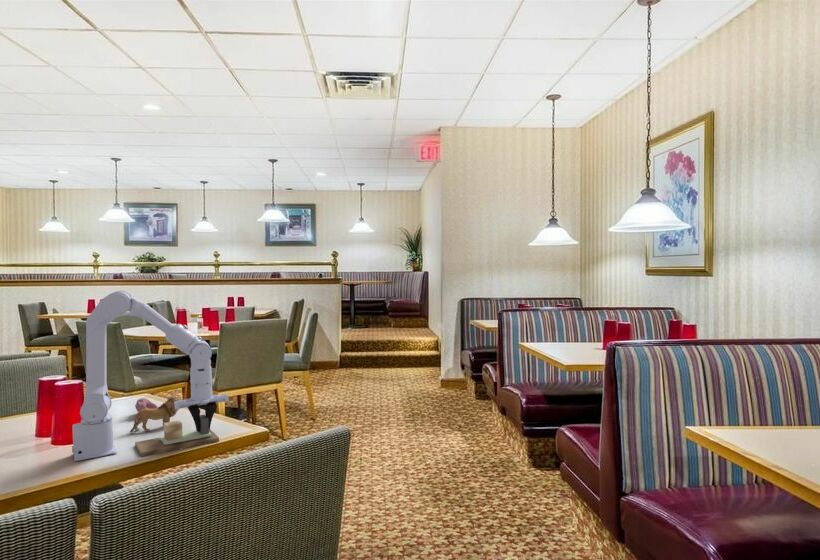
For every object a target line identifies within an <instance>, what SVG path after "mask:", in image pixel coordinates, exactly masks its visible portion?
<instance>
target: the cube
mask: <svg viewBox="0 0 820 560" xmlns="http://www.w3.org/2000/svg"><path fill="white" fill-rule="evenodd" d="M163 431H164V433H163V436H164V437H165V439H166V440H167V441H169V440H174V439H179V438H183V436H182V432H183V423H182V421H180V420H174V421H170V422H167V423H164V426H163Z"/></svg>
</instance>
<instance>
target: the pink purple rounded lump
mask: <svg viewBox="0 0 820 560" xmlns="http://www.w3.org/2000/svg"><path fill="white" fill-rule="evenodd" d="M134 405H135V406H134V407H135V409H136V412H137V413H138V412H139V411H140V410H142V409H145V408H149V409H154V408H158V407H159V406H158V405H156V403H154V402H152V401H151V400H149V399H148V398H146V397H141V398H139V399H137V400H136V403H135V404H134Z"/></svg>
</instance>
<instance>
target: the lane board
mask: <svg viewBox="0 0 820 560" xmlns="http://www.w3.org/2000/svg"><path fill="white" fill-rule="evenodd" d="M209 432H210V433H211V434H212V436H209V437H204V438H198V439H193V440H188V441H183V442H178V443H173V444H168V445H164V444H163V443H162V441H161V440H160V437H155V438H151V439H146V440H139V441H135V442H134V446H135V448H136V449H137V451H138V453H139V456H140V458H141V457H142V456H143V457H146V456H147V455H148V456H152V454H153V455H157V453H158V454H162V452H163V453H167V452H166V451H168V452H172V451H171V450H173V451H176V449H178V450H181V449H180V448H183V449H186V448H185V447H188V448H190V447H189V446H193V445H198V446H200V445H199V444H203V445H206V444H205V443H208V444H210V443H209V442H213V443H216V442H215V441H218V442H220V437H219V436H218V435H217V434H216V433H215V432H214V431H213V430H212V429H210V430H209ZM193 447H194V446H193ZM148 456H147V457H148ZM143 457H142V458H143Z"/></svg>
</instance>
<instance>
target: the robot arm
mask: <svg viewBox="0 0 820 560" xmlns="http://www.w3.org/2000/svg"><path fill="white" fill-rule="evenodd" d="M127 312H129V313H128V316H129V317H130V316H131V317H139V318H142V319H143V320H145V321H147V322H148V323H149V324H151V325H152V326H154V327H155V328H156V329H158V330H160V331H161V332H163V333H164V334H165V340H166V341H167V342H168V343H169V344H171V345H172V346H173V347H175V348H177V350H179V351H181V352H182V353H184V354H189V355H188V356H189V359H190V369H189V370H190V371H189V373H190V398H186V399H181V400H179V401H176V402H174V405H175V409H176V410H178V409H179V410H180V409H186V408H187V409H188V411H189V413H190V415H191V418H192V419H193V422H194V425H195V430H197V431H198V432H199V431H200V415H201V409H200V407H199V406H204V415H206V416H207V417H208V420H209V430H211V425H212V421H213V417H214V414H215V413H216V410H217V408H218V404H217V403H223V402H227V403H228V402H229V401H230V400H229V394H228V393H222V394H213V377H212V374H213V373H212V366H211V364H212V360H211V358H212V354H213V352H212V349H211V347H210V345H209V343H208V342H207V341H206V340H203V337H201V336H200V335H199V336H197V334H194V332H192V331H191V330H189V326H187V325H186V324H183V325H182V324H181V323H177V324H173V323H172V322H170V321H169V320H168V319H166V318H165V317H164V316H162V315H161V314H160V313H159V312H157V311H156V310H155V309H154V308H152V307H151V306H150V305H148V303H146V302H144V301H142V300H141V299H139V298H137V297H136V296H132V295H131V294H130V293H129V292H128V291H125V290H117V291H114V292H112V293H108V295H106V296H104V297H103V298H101V299H100V300H99V302H98V304H97V305H96V306H95V308H94V309H93V310H92V311H91V313H90V314H89V315H88V317H87V318H86V323H85V324H86V325H85V326H86V327H85V330H86V331H85V337H86V338H85V339H86V340H85V345H86V346H85V354H86V355H85V357H86V358H85V364H86V365H85V370H86V371H85V374H86V375H85V377H86V378H85V379H86V380H85V392H84V396H83V397H84V398H83V399H84V400H83V403H82V406H81V407H80V411H79V414H80V417H81V419H80V422H78V423H74V424H72V443H73V445H72V446H71V449H72V452H71V453H73V459H74V462H79V461H83V460H90V459H95V458H99V457H105V456H110V455H114V454H117V450H116V447H115V444H114V434H113V433H114V430H113V415H111V414H110V412H109V410H110V409H111V407H112V402H113V401H112V399H111V397H110V394H109V392H108V389H109V388H108V384H107V377H108V376H107V374H108V373H107V371H108V370H107V367H108V366H107V355H108V353H107V351H108V350H107V348H108V346H107V343H108V342H107V333H108V332H107V328H108V327H107V326H108V325H109V324H110V323H111V322H113V321H114V320H115V319H116V318H119V317H120V316H124V315H125V314H126V313H127ZM179 410H178V411H179Z"/></svg>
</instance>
